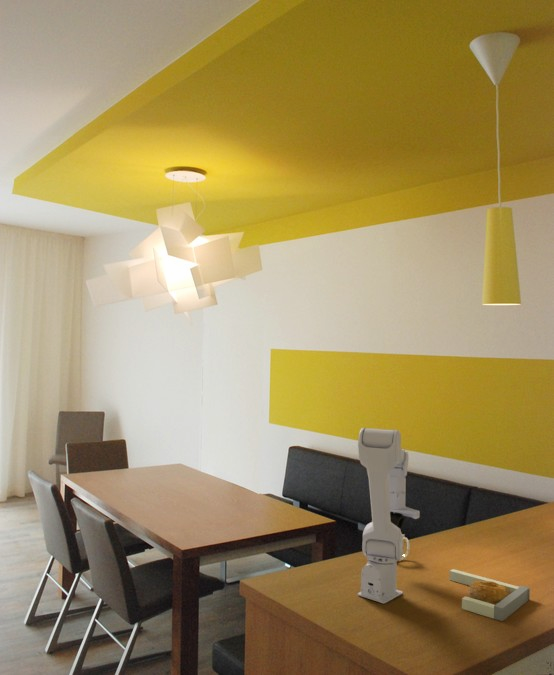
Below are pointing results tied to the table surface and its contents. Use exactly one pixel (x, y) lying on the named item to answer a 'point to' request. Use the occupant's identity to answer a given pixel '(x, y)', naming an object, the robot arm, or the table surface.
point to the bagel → (488, 591)
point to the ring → (405, 546)
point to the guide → (486, 609)
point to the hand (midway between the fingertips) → (394, 539)
